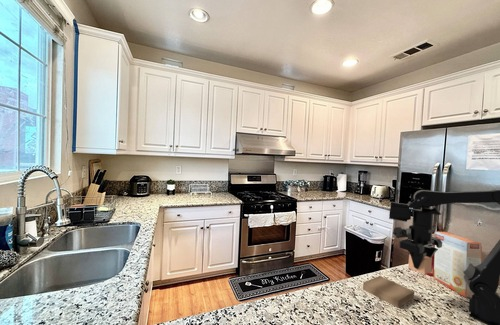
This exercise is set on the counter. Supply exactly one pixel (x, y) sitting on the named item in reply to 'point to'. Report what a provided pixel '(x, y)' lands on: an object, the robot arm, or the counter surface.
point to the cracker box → (455, 261)
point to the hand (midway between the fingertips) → (419, 267)
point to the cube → (424, 266)
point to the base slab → (388, 291)
